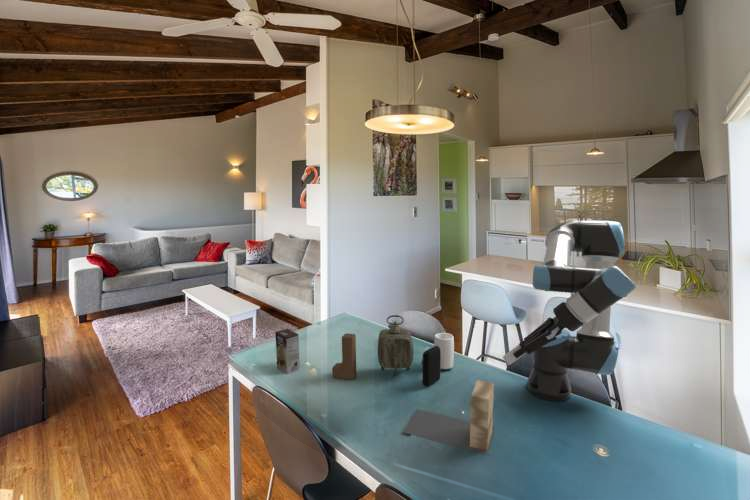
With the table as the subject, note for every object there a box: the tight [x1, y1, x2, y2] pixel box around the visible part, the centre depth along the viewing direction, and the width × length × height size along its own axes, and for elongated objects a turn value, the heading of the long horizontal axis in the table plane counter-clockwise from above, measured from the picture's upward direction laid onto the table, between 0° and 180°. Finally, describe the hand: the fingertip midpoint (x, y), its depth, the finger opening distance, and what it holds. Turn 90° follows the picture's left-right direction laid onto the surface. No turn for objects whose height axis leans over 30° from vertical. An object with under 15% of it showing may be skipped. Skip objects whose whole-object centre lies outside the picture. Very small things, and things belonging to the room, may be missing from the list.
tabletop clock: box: [377, 314, 414, 377], centre depth 158 cm, size 14×9×25 cm, turn 88°
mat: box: [402, 408, 496, 456], centre depth 121 cm, size 26×14×1 cm, turn 65°
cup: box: [433, 332, 455, 370], centre depth 164 cm, size 8×8×14 cm
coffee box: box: [274, 328, 301, 375], centre depth 165 cm, size 9×6×16 cm
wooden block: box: [331, 332, 357, 381], centre depth 157 cm, size 9×4×18 cm, turn 72°
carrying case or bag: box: [421, 345, 441, 388], centre depth 150 cm, size 11×3×15 cm, turn 134°
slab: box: [469, 380, 495, 451], centre depth 115 cm, size 5×10×16 cm, turn 155°
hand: (506, 360), depth 112 cm, fingers closed
